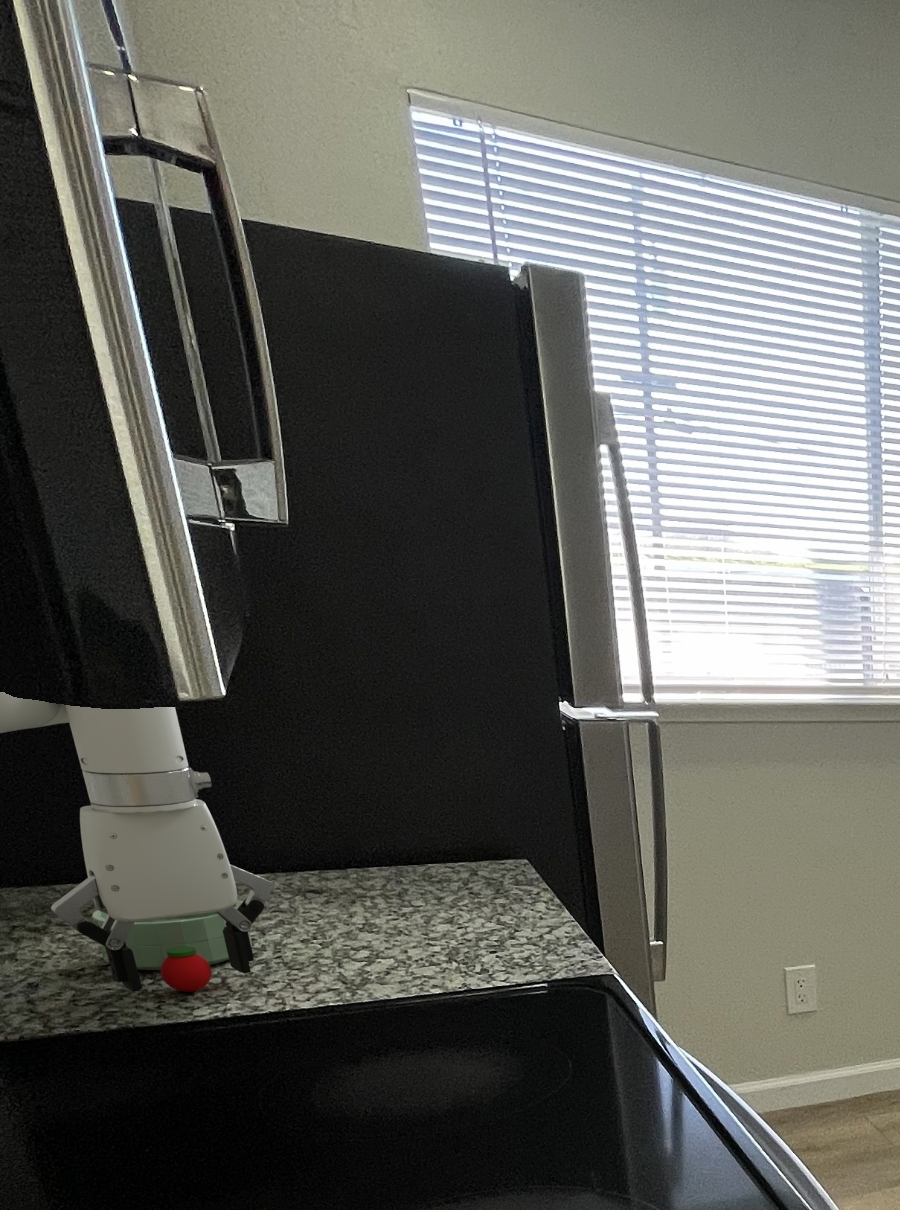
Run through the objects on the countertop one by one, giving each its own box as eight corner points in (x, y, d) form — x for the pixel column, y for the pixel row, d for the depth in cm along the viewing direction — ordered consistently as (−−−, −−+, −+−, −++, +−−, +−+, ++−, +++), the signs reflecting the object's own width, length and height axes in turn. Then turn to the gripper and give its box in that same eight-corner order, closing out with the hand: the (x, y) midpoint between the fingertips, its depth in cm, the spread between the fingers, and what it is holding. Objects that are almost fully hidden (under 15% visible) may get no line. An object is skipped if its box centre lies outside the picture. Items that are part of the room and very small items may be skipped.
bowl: (127, 981, 118) (114, 930, 116) (89, 954, 125) (76, 906, 123) (272, 958, 127) (261, 910, 125) (228, 934, 134) (218, 889, 132)
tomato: (174, 999, 114) (163, 957, 112) (160, 990, 116) (149, 949, 115) (221, 991, 117) (212, 950, 115) (207, 982, 119) (197, 942, 117)
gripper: (239, 777, 118) (277, 954, 125) (3, 792, 105) (60, 988, 112) (269, 787, 114) (307, 970, 120) (27, 804, 101) (85, 1007, 108)
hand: (188, 978), depth 116 cm, fingers open, 8 cm apart
